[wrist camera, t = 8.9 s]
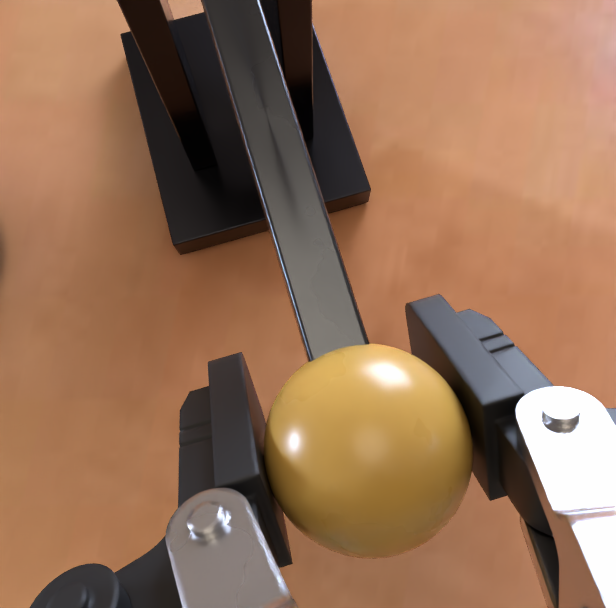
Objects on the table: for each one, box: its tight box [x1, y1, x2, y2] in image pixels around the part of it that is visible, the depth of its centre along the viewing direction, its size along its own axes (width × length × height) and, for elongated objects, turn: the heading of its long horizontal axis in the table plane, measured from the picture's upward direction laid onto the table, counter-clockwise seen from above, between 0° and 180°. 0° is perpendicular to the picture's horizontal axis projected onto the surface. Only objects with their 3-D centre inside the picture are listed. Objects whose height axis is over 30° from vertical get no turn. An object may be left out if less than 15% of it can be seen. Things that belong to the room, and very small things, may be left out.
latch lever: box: [201, 0, 473, 559], centre depth 11 cm, size 17×4×4 cm, turn 16°
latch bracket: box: [117, 0, 371, 255], centre depth 18 cm, size 10×8×14 cm
